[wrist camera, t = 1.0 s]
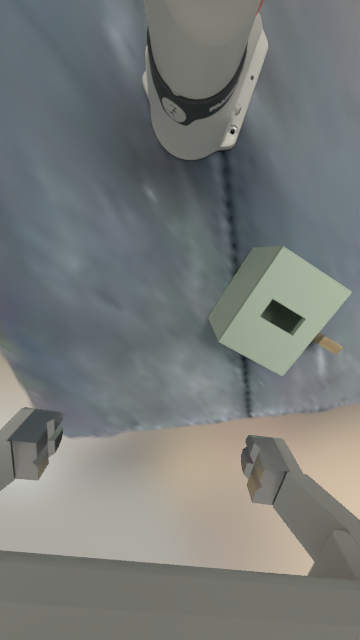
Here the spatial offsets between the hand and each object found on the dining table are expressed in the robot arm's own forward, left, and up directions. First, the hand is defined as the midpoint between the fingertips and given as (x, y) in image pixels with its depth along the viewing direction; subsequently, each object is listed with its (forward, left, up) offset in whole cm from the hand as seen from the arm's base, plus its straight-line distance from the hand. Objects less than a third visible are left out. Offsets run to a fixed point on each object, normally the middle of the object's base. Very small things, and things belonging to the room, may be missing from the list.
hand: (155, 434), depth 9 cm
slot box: (-7, +18, -41) cm, 45 cm away
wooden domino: (-7, +34, -41) cm, 53 cm away
